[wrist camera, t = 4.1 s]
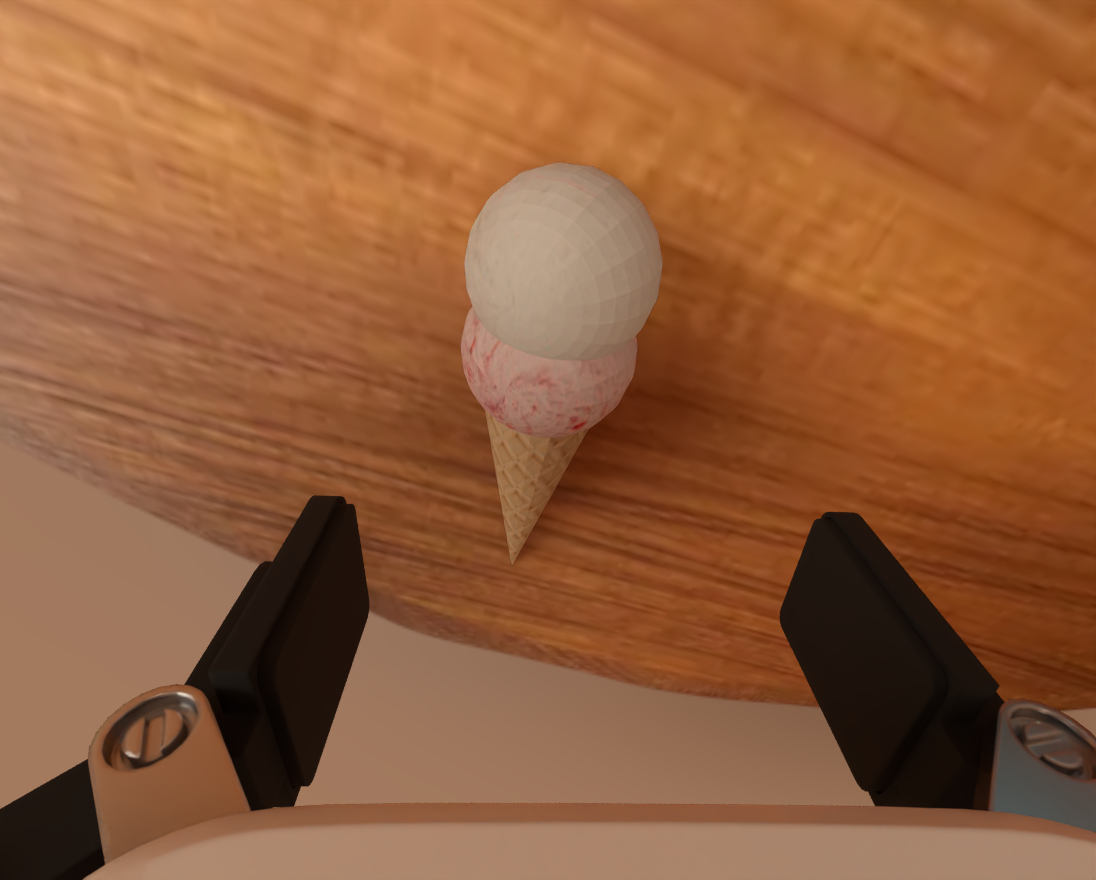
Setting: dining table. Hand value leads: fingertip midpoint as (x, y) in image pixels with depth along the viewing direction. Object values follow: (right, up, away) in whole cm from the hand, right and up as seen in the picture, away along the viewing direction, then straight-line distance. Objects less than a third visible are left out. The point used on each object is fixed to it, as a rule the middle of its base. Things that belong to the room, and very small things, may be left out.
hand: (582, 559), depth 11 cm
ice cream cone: (0, +4, +7) cm, 8 cm away
